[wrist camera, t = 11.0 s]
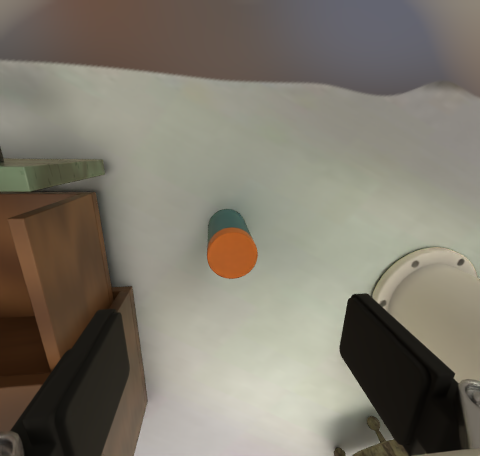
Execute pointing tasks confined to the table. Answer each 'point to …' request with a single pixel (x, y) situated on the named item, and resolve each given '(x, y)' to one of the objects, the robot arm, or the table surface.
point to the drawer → (48, 262)
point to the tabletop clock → (385, 452)
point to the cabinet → (132, 401)
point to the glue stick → (230, 245)
